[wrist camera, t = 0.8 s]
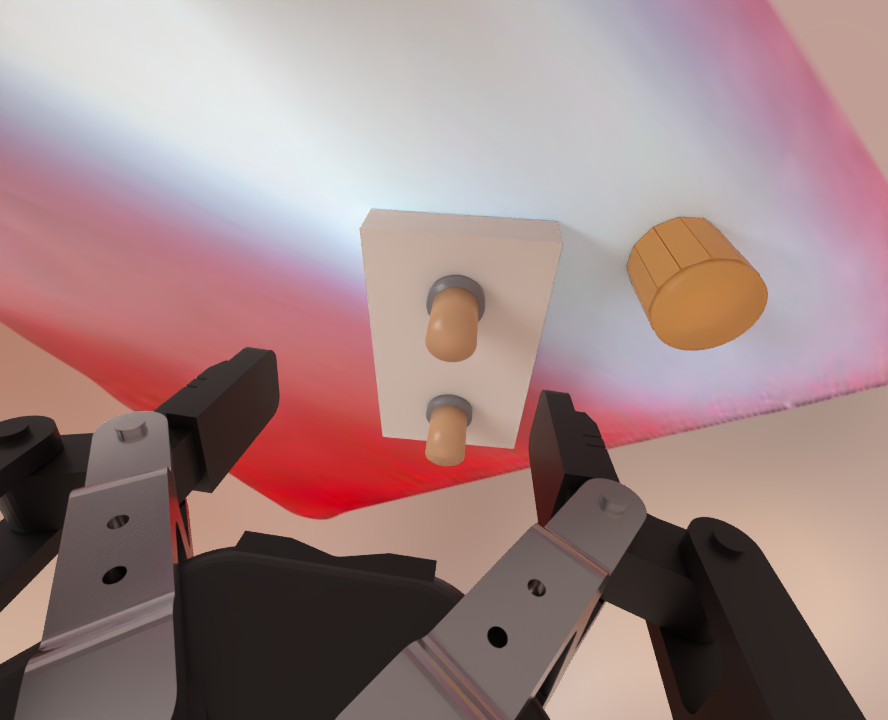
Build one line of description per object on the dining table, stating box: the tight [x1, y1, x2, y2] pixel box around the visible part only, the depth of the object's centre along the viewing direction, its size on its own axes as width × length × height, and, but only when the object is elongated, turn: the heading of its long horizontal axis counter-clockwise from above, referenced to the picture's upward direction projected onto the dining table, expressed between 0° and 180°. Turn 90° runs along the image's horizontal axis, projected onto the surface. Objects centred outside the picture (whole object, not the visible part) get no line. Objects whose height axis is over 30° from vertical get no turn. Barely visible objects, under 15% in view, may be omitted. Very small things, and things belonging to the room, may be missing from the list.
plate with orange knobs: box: [360, 209, 563, 466], centre depth 31 cm, size 20×12×8 cm, turn 178°
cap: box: [627, 217, 768, 350], centre depth 25 cm, size 6×6×6 cm
